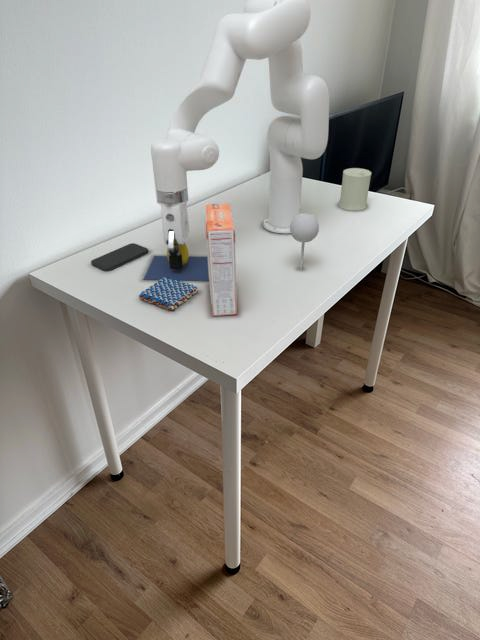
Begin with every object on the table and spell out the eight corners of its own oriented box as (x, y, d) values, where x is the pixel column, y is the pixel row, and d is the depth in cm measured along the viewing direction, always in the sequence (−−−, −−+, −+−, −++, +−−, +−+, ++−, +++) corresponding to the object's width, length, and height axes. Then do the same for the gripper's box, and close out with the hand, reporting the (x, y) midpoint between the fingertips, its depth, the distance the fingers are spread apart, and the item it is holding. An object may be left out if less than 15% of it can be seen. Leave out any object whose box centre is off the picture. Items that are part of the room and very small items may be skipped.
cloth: (219, 257, 123) (219, 257, 123) (214, 281, 113) (214, 280, 113) (154, 256, 124) (154, 255, 124) (143, 279, 114) (143, 279, 114)
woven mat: (200, 292, 108) (199, 285, 107) (172, 313, 101) (171, 305, 100) (166, 281, 113) (165, 273, 112) (137, 300, 106) (136, 293, 105)
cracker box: (208, 285, 111) (204, 203, 99) (233, 284, 112) (231, 202, 100) (210, 317, 100) (205, 229, 88) (237, 315, 100) (236, 227, 88)
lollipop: (317, 264, 120) (322, 210, 111) (311, 277, 114) (317, 221, 105) (291, 261, 121) (294, 207, 113) (284, 273, 116) (287, 217, 107)
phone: (150, 249, 126) (106, 269, 116) (150, 252, 126) (107, 272, 117) (132, 242, 130) (88, 261, 120) (132, 245, 130) (89, 264, 120)
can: (351, 213, 149) (356, 176, 142) (333, 204, 156) (337, 169, 149) (372, 207, 153) (378, 172, 146) (353, 199, 160) (358, 165, 153)
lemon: (191, 263, 120) (189, 235, 116) (187, 273, 116) (185, 244, 111) (171, 262, 121) (168, 234, 116) (166, 272, 116) (163, 243, 112)
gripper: (181, 208, 100) (187, 279, 110) (192, 183, 114) (197, 248, 124) (148, 207, 100) (157, 278, 111) (163, 183, 115) (170, 248, 125)
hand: (178, 262), depth 118 cm, fingers closed on lemon, 5 cm apart
